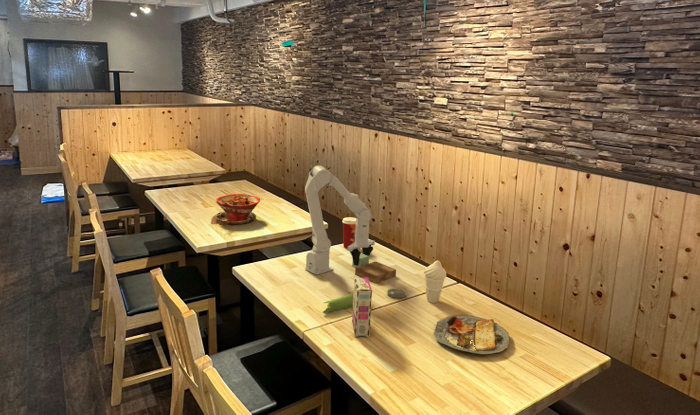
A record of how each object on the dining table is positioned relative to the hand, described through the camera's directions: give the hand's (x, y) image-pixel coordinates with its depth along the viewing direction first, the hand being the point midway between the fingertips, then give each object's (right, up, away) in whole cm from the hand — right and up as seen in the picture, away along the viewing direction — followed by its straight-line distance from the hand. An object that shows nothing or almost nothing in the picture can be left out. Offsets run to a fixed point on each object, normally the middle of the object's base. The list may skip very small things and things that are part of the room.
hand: (360, 263), depth 232 cm
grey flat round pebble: (+13, -10, -27) cm, 32 cm away
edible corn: (-7, -12, -39) cm, 42 cm away
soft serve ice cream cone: (+27, -11, -31) cm, 42 cm away
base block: (+6, -4, -9) cm, 11 cm away
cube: (0, -1, 0) cm, 1 cm away
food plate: (+35, -19, -58) cm, 70 cm away
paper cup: (-5, +5, +25) cm, 26 cm away
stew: (-67, +17, +61) cm, 92 cm away
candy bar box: (-1, -16, -55) cm, 57 cm away
